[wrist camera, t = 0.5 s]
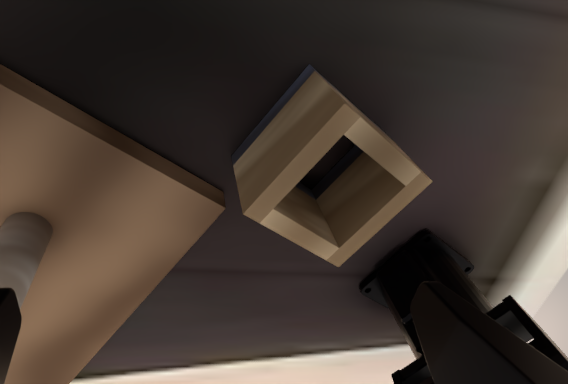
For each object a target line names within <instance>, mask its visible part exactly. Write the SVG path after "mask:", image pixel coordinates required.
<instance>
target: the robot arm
mask: <svg viewBox="0 0 568 384" xmlns="http://www.w3.org/2000/svg"><path fill="white" fill-rule="evenodd" d="M473 269H474V266H473V265H472V264H471V262H470V261H468V260H467V259H466V258H465V257H463V256H462V255H461V254H459V253H458V252H457V251H455V250H454V249H453V248H451V247H450V246H449V245H448V244H446V243H445V242H444V241H442V240H441V239H440V238H438V237H437V236H436V235H435V234H433V233H432V232H431V231H429V230H425V231H422V232H421V233H419V234H418V235H417V236H416V237H415V238H414V239H412V240H411V241H410V242H409V243H408V244H407V245H406V246H404V247H403V248H402V249H401V250H400V251H399V252H398V253H396V254H395V255H394V256H393V257H392V258H391V259H389V260H388V261H387V262H386V263H385V264H384V265H383V266H381V267H380V268H379V269H378V270H377V271H376V272H375V273H373V274H372V275H371V276H370V277H369V278H368V279H366V280H365V281H364V282H363V283H362V284H361V285H360V287H359V289H360V291H361V293H362V294H363V295H364V296H366V297H368V298H370V299H372V300H374V301H376V302H378V303H380V304H382V305H383V306H385V307H387V308H389V309H390V311H391V312H392V314H393V316H394V318H395V320H396V322H397V324H398V325H399V327H400V329H401V331H402V333H403V335H404V337H405V338H406V340H407V342H408V344H409V346H410V348H411V350H412V351H413V353H414V355H415V357H416V359H417V360H415V361H414V362H412V363H411V364H409V365H408V366H406V367H405V368H403V369H402V370H397V371H396V372H394V373H393V374H392V378H393V382H394V384H568V358H567V356H566V355H565V354H564V353H563V352H562V351H561V350H560V348H559V347H558V346H557V345H556V344H555V343H554V342H553V341H552V340H551V338H550V337H549V336H548V335H547V334H546V333H545V332H544V331H543V330H542V328H541V327H540V326H539V325H538V324H537V323H536V322H535V321H534V320H533V319H532V318H531V316H530V315H529V314H528V313H527V312H526V311H525V310H524V309H523V308H522V307H521V306H520V305H519V304H518V303H517V302H516V301H515V300H514V298H513V297H512V296H511V295H509V296H508V297H506V298H505V299H503V300H502V301H503V302H502V303H500V304H499V305H497V306H496V307H494V308H493V307H492V305H491V304H490V303H489V302H488V301H487V299H486V298H485V297H484V296H483V294H482V293H481V292H480V291H479V289H478V288H477V287H476V286H475V285H474V283H473V282H472V281H471V280H470V278H469V277H468V276H467V275H468V274H469V273H470V272H471V271H472V270H473ZM21 322H22V316H21V312H20V308H19V304H18V300H17V296H16V293H15V291H14V289H12V288H9V287H3V288H0V384H4V383H5V379H6V376H7V373H8V369H9V366H10V362H11V359H12V356H13V352H14V349H15V345H16V342H17V338H18V335H19V332H20V328H21ZM533 338H534V340H533V341H531V342H530V343H526V342H528V341H529V340H531V339H533Z"/></svg>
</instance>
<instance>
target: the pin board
mask: <svg viewBox="0 0 568 384" xmlns="http://www.w3.org/2000/svg"><path fill="white" fill-rule="evenodd" d="M225 208H226V207H225V200H224V193H223V192H222V191H221V190H219V189H217V188H215V187H214V186H212V185H210V184H208V183H207V182H205V181H203V180H201V179H200V178H198V177H196V176H194V175H193V174H191V173H189V172H187V171H186V170H184V169H182V168H180V167H179V166H177V165H175V164H174V163H172V162H170V161H168V160H167V159H165V158H163V157H161V156H160V155H158V154H156V153H154V152H153V151H151V150H149V149H147V148H146V147H144V146H142V145H140V144H139V143H137V142H135V141H133V140H132V139H130V138H128V137H126V136H125V135H123V134H121V133H120V132H118V131H116V130H114V129H113V128H111V127H109V126H107V125H106V124H104V123H102V122H100V121H99V120H97V119H95V118H93V117H92V116H90V115H88V114H86V113H85V112H83V111H81V110H79V109H78V108H76V107H74V106H72V105H71V104H69V103H67V102H66V101H64V100H62V99H60V98H59V97H57V96H55V95H53V94H52V93H50V92H48V91H46V90H45V89H43V88H41V87H39V86H38V85H36V84H34V83H32V82H31V81H29V80H27V79H25V78H24V77H22V76H20V75H18V74H17V73H15V72H13V71H12V70H10V69H8V68H6V67H5V66H3V65H1V64H0V288H3V287H9V288H12V289H14V291H15V293H16V296H17V300H18V304H19V308H20V312H21V316H22V322H21V328H20V332H19V335H18V338H17V342H16V345H15V349H14V352H13V356H12V359H11V362H10V366H9V369H8V373H7V376H6V379H5V383H4V384H69V383H70V382H71V381H72V380H73V379H74V378H75V377H76V375H77V374H78V373H79V372H80V371H81V370H82V369H83V368H84V366H85V365H86V364H87V363H88V362H89V361H90V360H91V359H92V357H93V356H94V355H95V354H96V353H97V352H98V351H99V350H100V349H101V347H102V346H103V345H104V344H105V343H106V342H107V341H108V340H109V338H110V337H111V336H112V335H113V334H114V333H115V332H116V331H117V329H118V328H119V327H120V326H121V325H122V324H123V323H124V322H125V320H126V319H127V318H128V317H129V316H130V315H131V314H132V313H133V312H134V310H135V309H136V308H137V307H138V306H139V305H140V304H141V303H142V301H143V300H144V299H145V298H146V297H147V296H148V295H149V294H150V292H151V291H152V290H153V289H154V288H155V287H156V286H157V285H158V284H159V282H160V281H161V280H162V279H163V278H164V277H165V276H166V275H167V273H168V272H169V271H170V270H171V269H172V268H173V267H174V266H175V264H176V263H177V262H178V261H179V260H180V259H181V258H182V257H183V255H184V254H185V253H186V252H187V251H188V250H189V249H190V248H191V247H192V245H193V244H194V243H195V242H196V241H197V240H198V239H199V238H200V236H201V235H202V234H203V233H204V232H205V231H206V230H207V229H208V227H209V226H210V225H211V224H212V223H213V222H214V221H215V220H216V219H217V217H218V216H219V215H220V214H221V213H222V212H223V211H224V210H225Z"/></svg>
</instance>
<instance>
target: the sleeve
mask: <svg viewBox="0 0 568 384" xmlns="http://www.w3.org/2000/svg"><path fill="white" fill-rule="evenodd" d="M343 135H345V136H346V137H347V138H348V139H350V140H351V141H352V142H353V143H354V144H356V145H355V146H354V147H353V148H352V149H351V150H350V151H349V152H348V153H347V154H346V155H345V156H344V157H343V158H342V159H341V160H340V161H339V162H338V163H337V164H336V165H335V166H334V167H333V168H332V169H331V170H330V171H329V172H328V173H327V174H326V175H325V176H324V177H323V179H322V180H321V181H320V182H319V183H318V184H317V185H316V186H315V187H314V188H313V189H312V190H310V189H309V188H307V187H306V186H304V185H303V184H301V183H300V182H299V181H300V180H301V179H302V178H303V177H304V176H305V175H306V174H307V173H308V172H309V171H310V170H311V169H312V167H313V166H314V165H315V164H316V163H317V162H318V161H319V160H320V159H321V158H322V157H323V156H324V155H325V154H326V153H327V152H328V151H329V150H330V148H331V147H332V146H333V145H334V144H335V143H336V142H337V141H338V140H339V139H340V138H341V137H342V136H343ZM231 158H232V163H233V168H234V173H235V178H236V183H237V187H238V192H239V197H240V202H241V207H242V212H243V214H244V215H245V216H247V217H249V218H251V219H253V220H254V221H256V222H258V223H260V224H262V225H263V226H265V227H267V228H269V229H271V230H272V231H274V232H276V233H278V234H280V235H281V236H283V237H285V238H287V239H289V240H290V241H292V242H294V243H296V244H298V245H299V246H301V247H303V248H305V249H307V250H308V251H310V252H312V253H314V254H316V255H317V256H319V257H321V258H323V259H325V260H326V261H328V262H330V263H332V264H334V265H335V266H337V267H339V266H340V265H342V264H343V263H344V262H345V261H346V260H347V259H348V258H349V257H350V256H351V255H353V254H354V253H355V252H356V251H357V250H358V249H359V248H360V247H361V246H362V245H364V244H365V243H366V242H367V241H368V240H369V239H370V238H371V237H372V236H373V235H375V234H376V233H377V232H378V231H379V230H380V229H381V228H382V227H383V226H384V225H385V224H387V223H388V222H389V221H390V220H391V219H392V218H393V217H394V216H395V215H396V214H398V213H399V212H400V211H401V210H402V209H403V208H404V207H405V206H406V205H407V204H409V203H410V202H411V201H412V200H413V199H414V198H415V197H416V196H417V195H418V194H420V193H421V192H422V191H423V190H424V189H425V188H426V187H427V186H428V185H429V184H431V183H432V182H433V181H432V180H431V179H430V178H429V177H428V176H427V175H426V174H425V173H424V172H423V171H422V170H421V169H420V168H419V167H418V166H417V165H416V164H415V163H414V162H413V161H412V160H411V159H410V158H409V157H408V156H407V155H406V154H405V153H404V152H403V151H402V150H401V149H400V148H399V147H398V145H397V144H396V143H395V142H394V141H393V140H392V139H391V138H390V137H389V136H388V135H387V134H386V133H385V132H384V131H383V130H381V129H380V128H379V127H378V126H377V125H376V124H375V123H374V122H373V121H372V120H370V119H369V118H368V117H367V116H366V115H365V114H364V113H363V112H362V111H360V110H359V109H358V108H357V107H356V106H355V105H354V104H353V103H352V102H351V101H349V100H348V99H347V98H346V97H345V96H344V95H343V94H342V93H341V92H339V91H338V90H337V89H336V88H335V87H334V86H333V85H332V84H331V83H330V82H328V81H327V80H326V79H325V78H324V77H323V76H322V75H321V74H320V73H319V72H317V71H316V70H315V69H314V68H313V67H312V66H311V65H310V64H309V65H308V66H307V67H306V68H305V70H304V71H303V72H302V73H301V74H300V76H299V77H298V78H297V79H296V80H295V81H294V83H293V84H292V85H291V86H290V87H289V89H288V90H287V91H286V92H285V93H284V94H283V96H282V97H281V98H280V99H279V100H278V101H277V103H276V104H275V105H274V106H273V107H272V109H271V110H270V111H269V112H268V113H267V114H266V116H265V117H264V118H263V119H262V120H261V122H260V123H259V124H258V125H257V126H256V127H255V129H254V130H253V131H252V132H251V133H250V135H249V136H248V137H247V138H246V139H245V140H244V142H243V143H242V144H241V145H240V146H239V148H238V149H237V150H236V151H235V152H234V153H233V155H232V156H231Z"/></svg>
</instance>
